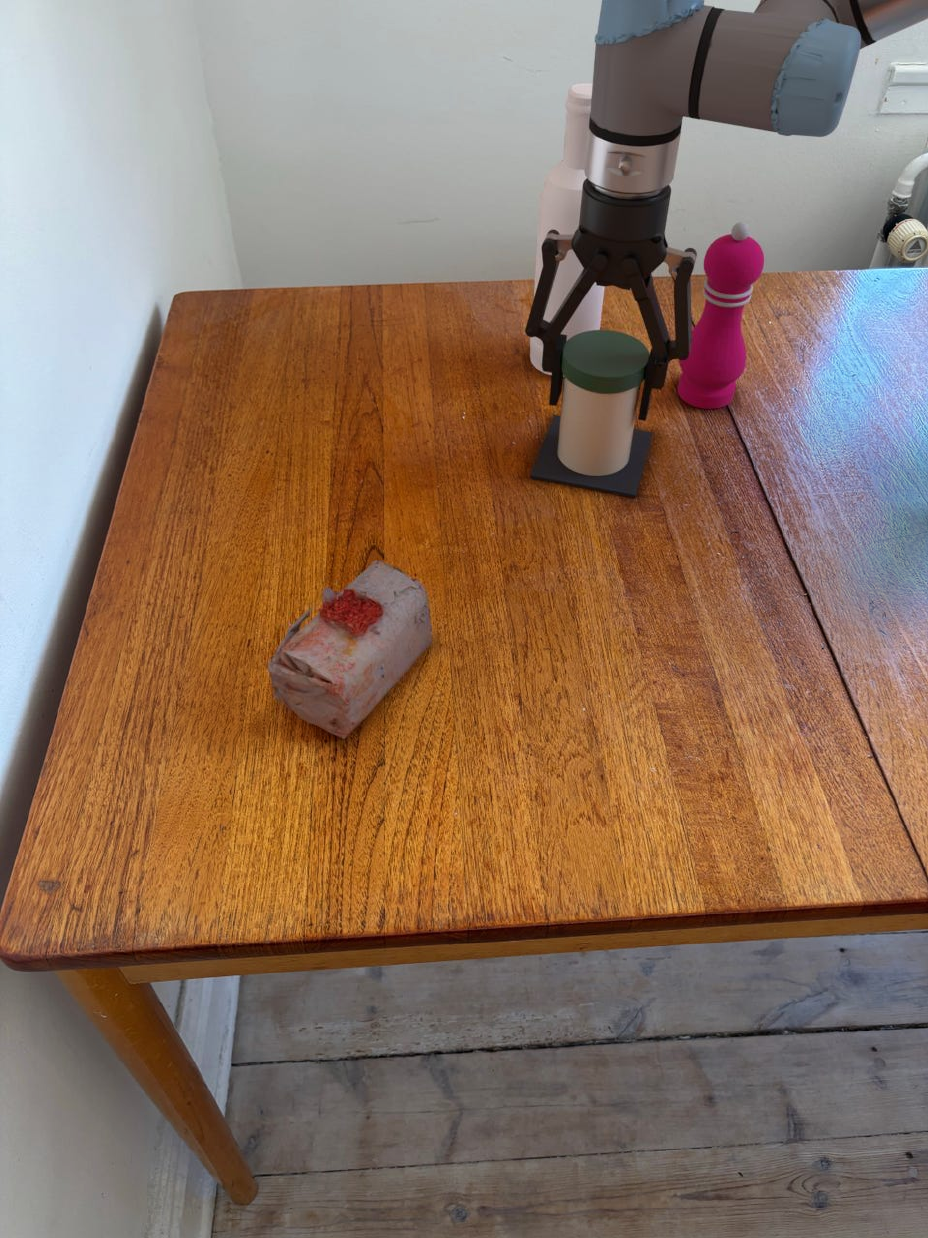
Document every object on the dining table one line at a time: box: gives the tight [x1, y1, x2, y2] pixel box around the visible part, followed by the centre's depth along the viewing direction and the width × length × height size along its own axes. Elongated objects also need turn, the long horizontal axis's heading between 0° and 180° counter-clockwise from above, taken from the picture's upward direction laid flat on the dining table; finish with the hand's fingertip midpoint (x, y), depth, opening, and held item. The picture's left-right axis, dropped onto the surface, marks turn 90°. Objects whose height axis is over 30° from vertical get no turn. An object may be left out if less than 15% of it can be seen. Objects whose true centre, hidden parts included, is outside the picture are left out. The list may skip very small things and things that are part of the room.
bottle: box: [529, 82, 606, 378], centre depth 108 cm, size 8×8×30 cm
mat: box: [529, 414, 654, 499], centre depth 106 cm, size 11×11×1 cm
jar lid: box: [561, 329, 650, 393], centre depth 98 cm, size 8×8×2 cm
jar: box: [557, 376, 642, 476], centre depth 102 cm, size 8×8×12 cm
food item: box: [267, 560, 434, 740], centre depth 82 cm, size 14×8×10 cm, turn 147°
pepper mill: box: [677, 221, 765, 410], centre depth 107 cm, size 7×7×20 cm
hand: (599, 404), depth 102 cm, fingers closed on jar lid, 8 cm apart
